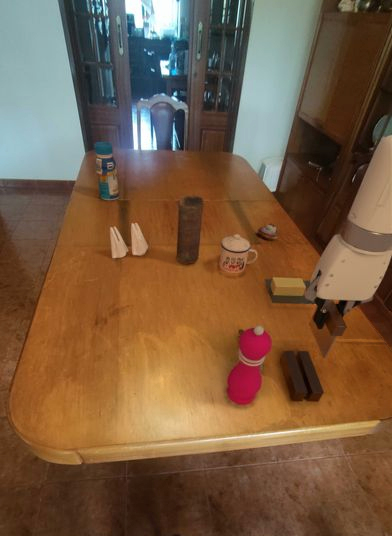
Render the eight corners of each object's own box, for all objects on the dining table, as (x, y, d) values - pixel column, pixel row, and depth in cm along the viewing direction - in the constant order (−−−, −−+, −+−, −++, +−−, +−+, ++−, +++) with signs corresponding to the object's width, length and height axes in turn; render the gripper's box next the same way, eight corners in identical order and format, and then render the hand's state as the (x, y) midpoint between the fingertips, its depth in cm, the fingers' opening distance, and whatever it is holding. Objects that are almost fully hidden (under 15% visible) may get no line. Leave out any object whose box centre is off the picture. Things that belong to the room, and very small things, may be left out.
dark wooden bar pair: (303, 360, 78) (308, 351, 75) (318, 401, 70) (324, 392, 67) (279, 360, 77) (283, 350, 75) (291, 401, 69) (296, 392, 67)
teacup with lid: (218, 275, 101) (223, 241, 93) (217, 260, 107) (221, 227, 99) (255, 277, 102) (263, 244, 93) (252, 262, 108) (259, 229, 99)
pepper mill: (217, 390, 70) (230, 323, 55) (240, 375, 73) (258, 308, 59) (241, 413, 66) (261, 347, 52) (263, 395, 70) (288, 329, 55)
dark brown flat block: (314, 323, 68) (328, 291, 62) (329, 358, 61) (347, 326, 55) (305, 323, 68) (318, 291, 61) (319, 358, 61) (336, 326, 55)
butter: (298, 287, 98) (302, 278, 95) (302, 296, 94) (306, 287, 92) (270, 286, 97) (272, 277, 95) (273, 295, 94) (275, 286, 91)
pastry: (281, 237, 122) (284, 225, 118) (268, 243, 118) (271, 230, 115) (265, 229, 126) (268, 217, 122) (252, 234, 122) (255, 221, 119)
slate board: (318, 284, 102) (320, 280, 101) (330, 307, 93) (332, 304, 92) (263, 282, 100) (264, 278, 99) (271, 306, 92) (272, 302, 91)
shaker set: (148, 251, 108) (146, 219, 100) (149, 258, 106) (147, 225, 98) (112, 252, 107) (108, 220, 99) (112, 258, 104) (107, 226, 96)
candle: (202, 263, 105) (208, 202, 91) (183, 268, 102) (186, 206, 88) (190, 252, 110) (194, 192, 95) (172, 257, 107) (173, 196, 92)
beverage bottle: (99, 193, 139) (91, 140, 125) (118, 193, 141) (113, 140, 127) (100, 201, 134) (92, 147, 119) (120, 200, 136) (115, 147, 121)
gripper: (406, 225, 51) (356, 313, 64) (310, 220, 50) (279, 310, 63) (431, 249, 46) (371, 339, 59) (325, 244, 45) (288, 337, 58)
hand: (324, 324), depth 61 cm, fingers closed on dark brown flat block, 2 cm apart
